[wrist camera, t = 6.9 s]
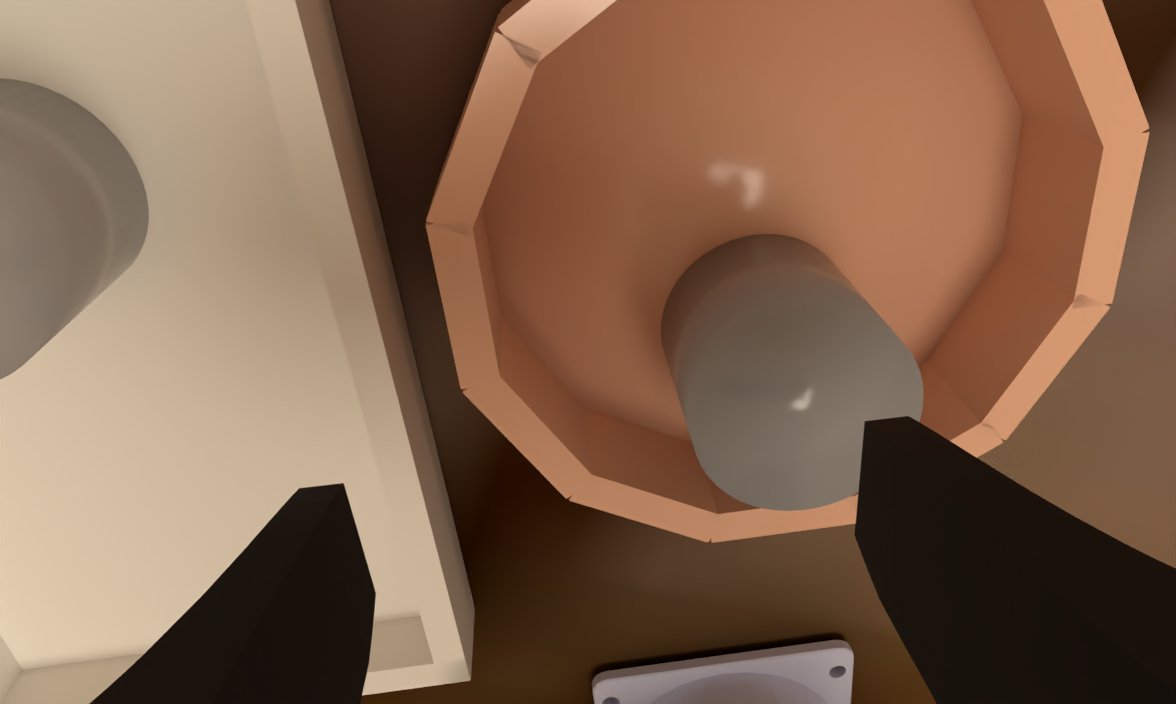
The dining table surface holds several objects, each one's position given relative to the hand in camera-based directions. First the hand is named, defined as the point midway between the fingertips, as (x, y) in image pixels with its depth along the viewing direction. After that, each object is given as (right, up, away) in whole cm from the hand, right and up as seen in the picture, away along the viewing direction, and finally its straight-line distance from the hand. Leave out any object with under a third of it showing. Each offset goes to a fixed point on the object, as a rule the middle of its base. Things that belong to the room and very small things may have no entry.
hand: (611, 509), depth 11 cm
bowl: (+3, +5, +7) cm, 9 cm away
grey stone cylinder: (+4, +3, +7) cm, 9 cm away
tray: (-11, +2, +8) cm, 14 cm away
